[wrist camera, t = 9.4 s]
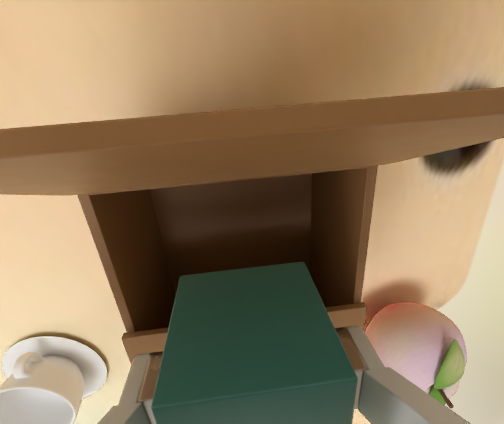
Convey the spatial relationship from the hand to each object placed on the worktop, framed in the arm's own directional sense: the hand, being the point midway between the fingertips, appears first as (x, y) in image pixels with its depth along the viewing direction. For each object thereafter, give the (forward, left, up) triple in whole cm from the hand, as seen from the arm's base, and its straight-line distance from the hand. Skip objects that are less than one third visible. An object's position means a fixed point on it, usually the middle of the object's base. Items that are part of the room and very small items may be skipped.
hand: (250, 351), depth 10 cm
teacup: (+27, -1, -15) cm, 31 cm away
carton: (+2, +3, -15) cm, 16 cm away
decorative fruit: (-1, +22, -15) cm, 27 cm away
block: (0, 0, -2) cm, 2 cm away
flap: (-4, -5, -1) cm, 6 cm away
